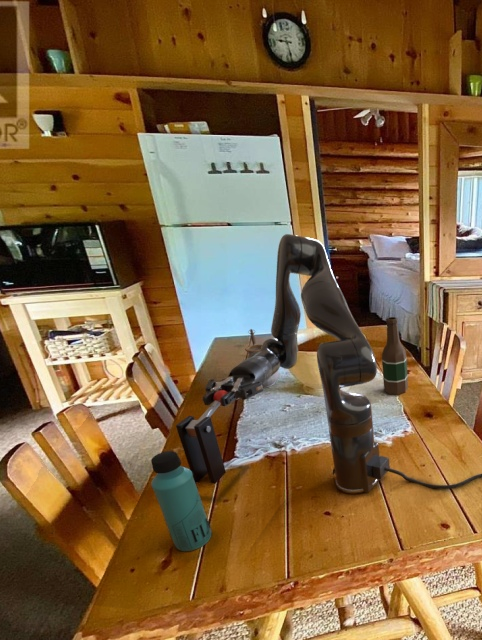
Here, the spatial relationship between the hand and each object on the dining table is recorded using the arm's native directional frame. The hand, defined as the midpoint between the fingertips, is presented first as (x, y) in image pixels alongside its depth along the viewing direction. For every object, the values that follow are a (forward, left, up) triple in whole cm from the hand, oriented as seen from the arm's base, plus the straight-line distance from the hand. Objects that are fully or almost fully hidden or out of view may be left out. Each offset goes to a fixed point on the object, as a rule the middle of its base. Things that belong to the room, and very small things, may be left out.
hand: (214, 402), depth 100 cm
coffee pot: (+29, -43, -17) cm, 55 cm away
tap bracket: (-2, +8, -16) cm, 18 cm away
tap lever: (0, +2, -3) cm, 4 cm away
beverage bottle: (-15, +24, -17) cm, 33 cm away
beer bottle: (-19, -51, -17) cm, 57 cm away
